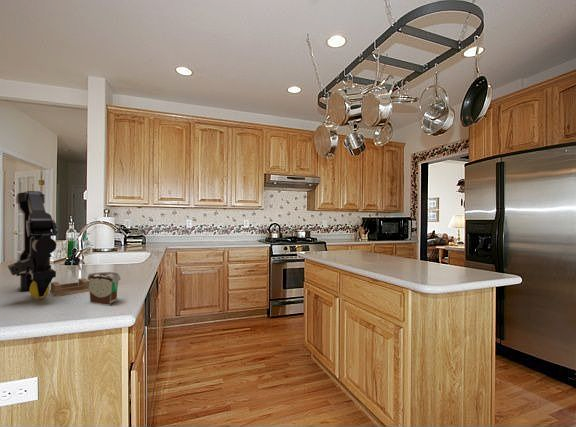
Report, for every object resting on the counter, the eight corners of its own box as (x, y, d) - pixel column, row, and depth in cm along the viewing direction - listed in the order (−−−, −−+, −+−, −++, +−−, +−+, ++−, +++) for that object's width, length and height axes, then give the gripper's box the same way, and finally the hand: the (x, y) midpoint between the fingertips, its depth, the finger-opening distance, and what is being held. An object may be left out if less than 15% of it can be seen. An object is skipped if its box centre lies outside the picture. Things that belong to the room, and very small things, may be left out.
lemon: (37, 302, 105) (38, 279, 105) (25, 301, 106) (25, 278, 106) (53, 298, 110) (53, 276, 110) (40, 297, 112) (41, 275, 112)
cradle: (49, 292, 118) (49, 282, 118) (83, 287, 127) (83, 277, 127) (54, 296, 112) (54, 286, 112) (90, 291, 121) (90, 281, 121)
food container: (128, 301, 108) (128, 273, 108) (113, 305, 102) (113, 276, 102) (102, 297, 112) (103, 270, 112) (87, 302, 106) (87, 273, 106)
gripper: (6, 250, 108) (6, 293, 109) (13, 256, 96) (12, 305, 96) (45, 248, 117) (45, 288, 117) (56, 253, 104) (55, 298, 104)
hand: (39, 294), depth 108 cm, fingers closed on lemon, 5 cm apart
